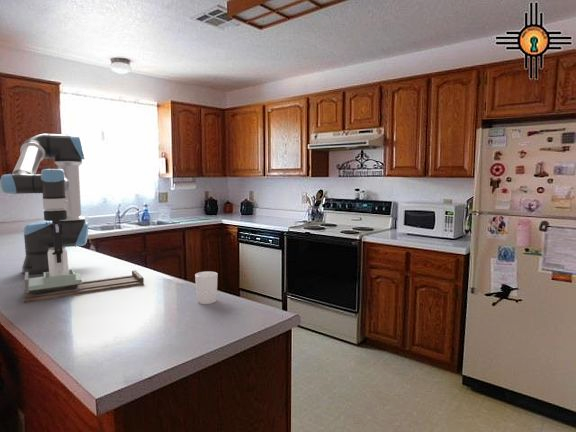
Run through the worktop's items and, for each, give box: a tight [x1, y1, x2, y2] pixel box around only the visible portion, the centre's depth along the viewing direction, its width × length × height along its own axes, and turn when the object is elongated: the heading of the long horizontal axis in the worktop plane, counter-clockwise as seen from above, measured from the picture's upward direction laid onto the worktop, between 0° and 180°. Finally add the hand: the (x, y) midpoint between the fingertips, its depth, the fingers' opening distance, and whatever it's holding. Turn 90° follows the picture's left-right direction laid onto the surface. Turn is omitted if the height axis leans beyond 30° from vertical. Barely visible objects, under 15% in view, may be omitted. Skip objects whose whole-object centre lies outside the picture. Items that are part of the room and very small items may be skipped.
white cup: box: [194, 271, 218, 305], centre depth 139 cm, size 8×8×10 cm
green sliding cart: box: [24, 268, 83, 294], centre depth 149 cm, size 13×18×6 cm
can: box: [48, 246, 70, 277], centre depth 149 cm, size 6×6×12 cm
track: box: [23, 269, 145, 303], centre depth 155 cm, size 15×41×3 cm, turn 123°
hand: (58, 268), depth 150 cm, fingers open, 7 cm apart
